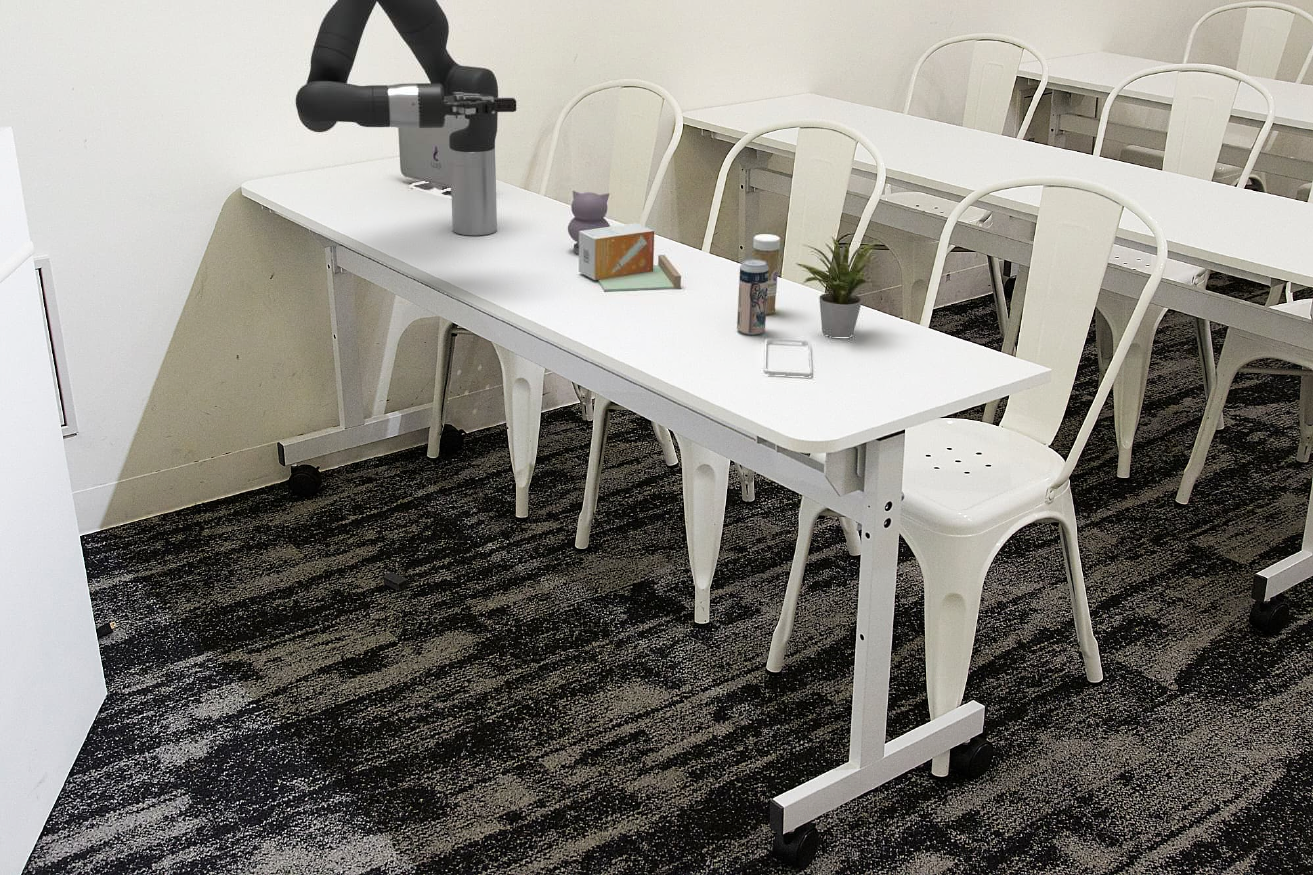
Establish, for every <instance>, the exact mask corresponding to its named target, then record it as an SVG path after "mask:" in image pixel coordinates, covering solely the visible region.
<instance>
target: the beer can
mask: <svg viewBox="0 0 1313 875" xmlns="http://www.w3.org/2000/svg"><path fill="white" fill-rule="evenodd" d="M768 275H769V268H768V266H767V263H766V261H763V260H759V259H754V258H750V259H749V258H748V259H745V260H743V261H742V262H741V265H740V266H739V280H738V296H737V297H738V300H737V317H736V319H737V320H736V329H737V331H738V332H740V333H741V332H742V333H741V334H743V333H745V334H744V335H746V334H748V335H749V336H758V335H760V334H762V333H764V332H765V331H766V324H767V323H766V321H767V319H766V318H767V315H766V307H767V291H768ZM757 334H758V335H757ZM748 335H747V336H748Z"/></svg>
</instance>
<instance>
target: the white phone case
mask: <svg viewBox="0 0 1313 875" xmlns="http://www.w3.org/2000/svg"><path fill="white" fill-rule="evenodd" d="M774 342H782V343H783V342H785V343H786V342H787V343H801V346H802V345H807V346H808V347H807V346H806V347H807V351H808V350H809V353H808V368H809V367H810V371H808V372H807V371H806V372H805V371H787V370H773V369H772V370H770V369H768V368H767V350H768V348H767V346H768V345H774ZM767 344H768V345H767ZM811 349H812V348H811V342H810V340H799V339H783V338H782V339H779V338H766V339H765V340H764V353H763V354H764V356H763V362H764V364H763V374H764V373H765V374H769V375H785V376H804V377H809V376H811V375H812V376H813V366H812V351H811Z"/></svg>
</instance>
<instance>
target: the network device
mask: <svg viewBox="0 0 1313 875" xmlns="http://www.w3.org/2000/svg"><path fill="white" fill-rule="evenodd" d="M468 125H469V119H465V118H464V119H456V118H455V116H453V115H446V116H445V124H444V127H442V128H397V129H398V131H397V132H398V148H399V149H398V150H399V151H398V152H399V165H400V168H399V169H400V173H401V175H402V176H403V177H406V178H410V179H413V180H417V181H425V182H429V183H428V184H432V185H433V187H432V188H436V189H438V190H444V189H447V188H451V171H450V147H449V137H450V134H451V133H453V132H455V131H458V130H461V129H464V128H466V127H467V126H468Z"/></svg>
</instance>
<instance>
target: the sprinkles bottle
mask: <svg viewBox="0 0 1313 875" xmlns="http://www.w3.org/2000/svg"><path fill="white" fill-rule="evenodd" d="M752 242H753V245H752V247H753V259H759V260H763V261H766V263H767V266H768V268H769V275H768V291H767V307H766V316H767V315H768V316H769V315H773V314H774V313H776V301H777V300H776V299H777V298H776V296H777V292H778V291H777V288H778V287H777V286H778V274H779V273H778V270H779V269H778V264H779V252H780V247H781V238H780V237H779V236H778V235H775V234H770V233H769V234H767V233H765V234H756V235H754V237H753V241H752Z"/></svg>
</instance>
